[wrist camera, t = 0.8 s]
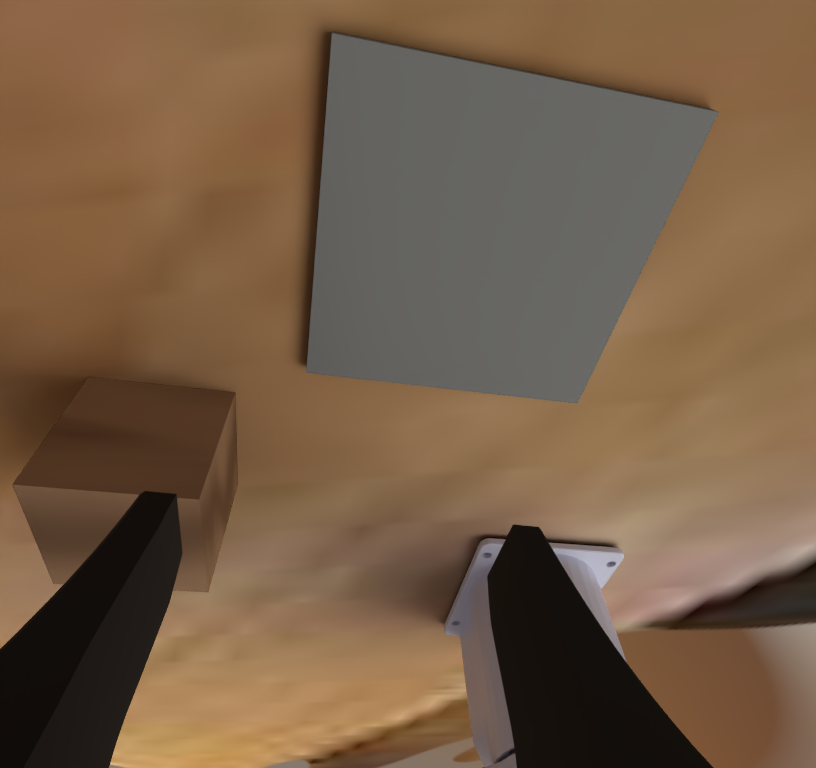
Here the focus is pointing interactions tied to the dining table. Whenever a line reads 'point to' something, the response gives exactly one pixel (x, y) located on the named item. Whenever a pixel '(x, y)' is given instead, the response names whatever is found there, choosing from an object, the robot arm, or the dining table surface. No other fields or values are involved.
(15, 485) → the walnut cube
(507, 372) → the mat
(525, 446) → the dining table surface
